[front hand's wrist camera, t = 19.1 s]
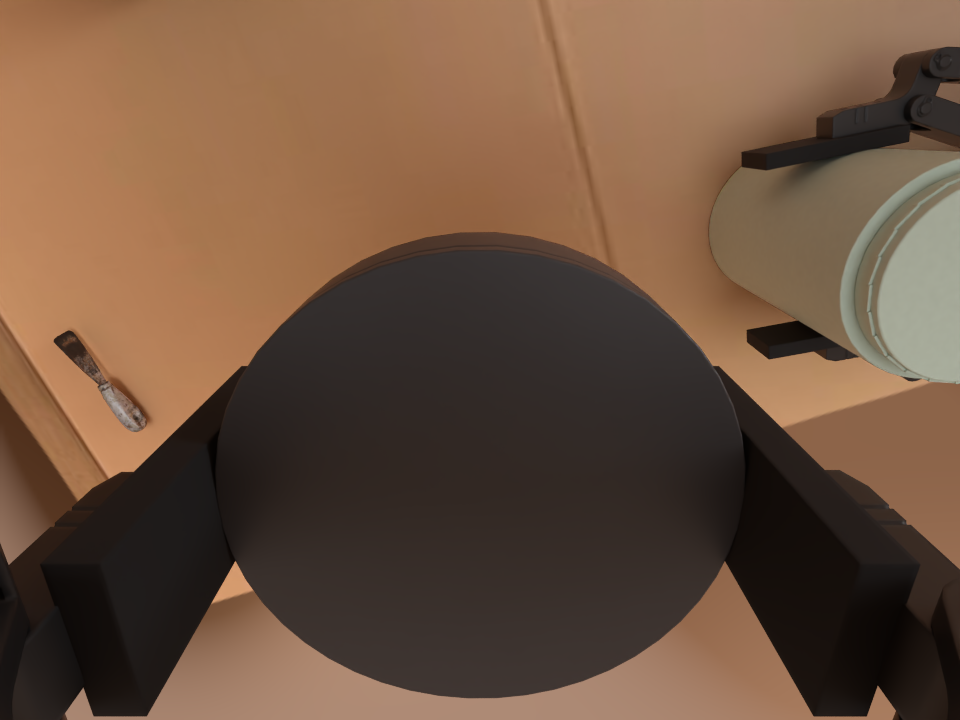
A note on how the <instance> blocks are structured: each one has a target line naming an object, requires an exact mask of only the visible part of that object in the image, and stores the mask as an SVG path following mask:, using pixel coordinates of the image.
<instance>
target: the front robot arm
mask: <svg viewBox="0 0 960 720" xmlns="http://www.w3.org/2000/svg"><path fill="white" fill-rule="evenodd" d="M247 367H248V366H241V367H240V368H239V369H238V370H237V371H236V372H235V373H234V374H233V375H232V376H231V377H230V378H229V379H228V380H227V381H226V382H225V383H224V384H223V385H222V386H221V387H220V388H219V389H218V390H217V391H216V392H215V393H214V394H213V395H212V396H211V397H210V398H209V399H208V400H207V401H206V402H205V403H204V404H203V405H202V406H201V407H200V408H199V409H198V410H196V411H195V412H194V413H193V414H192V415H191V416H190V417H189V418H188V419H187V420H186V421H185V422H184V423H183V424H182V425H181V426H180V427H179V428H178V429H177V430H176V431H175V432H174V433H173V434H172V435H171V436H170V437H169V438H168V439H167V440H166V441H165V442H164V443H163V444H162V445H161V446H160V447H159V448H158V449H157V450H156V451H155V452H154V453H153V454H152V455H151V456H150V457H149V458H148V459H147V460H146V461H145V462H143V463H142V464H141V465H140V466H139V467H138V468H137V469H136V470H135V471H134V472H121V473H119V474H117V475H115V476H113V477H112V478H110V479H108V480H106V481H105V482H103V483H101V484H99V485H97V486H96V487H94V488H92V489H91V490H90V491H89V492H88V493H87V494H86V495H85V496H84V497H83V498H81V499H80V500H79V501H78V502H77V503H76V504H75V505H74V506H73V507H72V511H67V512H66V513H65V514H64V515H63V516H62V517H61V518H60V519H59V520H57V521H56V522H55V526H54V527H50V528H49V529H48V530H47V531H46V532H44V533H43V534H42V535H41V536H40V537H39V538H38V539H37V540H36V541H35V542H34V543H32V544H31V545H30V546H29V547H28V548H27V549H26V550H25V551H24V552H23V553H22V554H20V555H19V556H18V557H17V558H16V559H15V560H14V561H13V562H12V563H11V564H10V565H8V563H7V560H6V557H5V555H4V552H3V549H2V547H1V544H0V720H67V718H66V715H65V712H66V711H67V709H68V708H69V707H70V705H71V704H72V702H73V701H74V700H75V698H76V697H77V695H78V694H79V693H80V691H81V690H82V688H83V687H84V690H85V693H86V696H87V699H88V702H89V704H90V707H91V710H92V713H93V715H94V716H147V715H148V713H149V711H150V710H151V708H152V706H153V704H154V703H155V701H156V699H157V697H158V696H159V694H160V692H161V690H162V689H163V687H164V685H165V683H166V682H167V680H168V678H169V676H170V674H171V673H172V671H173V669H174V668H175V666H176V664H177V662H178V661H179V659H180V657H181V655H182V653H183V652H184V650H185V648H186V647H187V645H188V643H189V641H190V639H191V638H192V636H193V634H194V633H195V631H196V629H197V627H198V626H199V624H200V622H201V620H202V618H203V617H204V615H205V613H206V611H207V610H208V608H209V606H210V604H211V603H212V601H213V599H214V597H215V596H216V594H217V592H218V590H219V589H220V587H221V585H222V583H223V582H224V580H225V578H226V576H227V575H228V573H229V571H230V569H231V568H232V566H233V564H234V562H235V561H236V560H235V559H234V557H233V555H232V552H231V550H230V547H229V544H228V542H227V539H226V536H225V534H224V531H223V527H222V522H221V517H220V512H219V507H218V502H217V497H216V483H215V462H216V452H217V442H218V437H219V433H220V429H221V425H222V422H223V418H224V414H225V410H226V408H227V405H228V403H229V401H230V399H231V396H232V394H233V392H234V390H235V388H236V385H237V383H238V381H239V379H240V377H241V376H242V374H243V373H244V371H245V370H246V368H247ZM713 367H714V369H715V370H716V372H717V373H718V375H719V376H720V378H721V380H722V383H723V385H724V387H725V389H726V391H727V393H728V395H729V397H730V399H731V401H732V404H733V406H734V410H735V413H736V416H737V420H738V423H739V427H740V430H741V434H742V440H743V448H744V456H745V464H746V470H745V494H744V499H743V505H742V510H741V515H740V520H739V525H738V529H737V532H736V535H735V538H734V540H733V543H732V546H731V549H730V552H729V554H728V556H727V557H726V559H725V562H726V564H727V565H728V567H729V569H730V570H731V572H732V574H733V576H734V577H735V579H736V581H737V583H738V585H739V586H740V588H741V590H742V592H743V593H744V595H745V597H746V599H747V600H748V602H749V604H750V606H751V607H752V609H753V611H754V613H755V614H756V616H757V618H758V620H759V621H760V623H761V625H762V627H763V628H764V630H765V632H766V634H767V635H768V637H769V639H770V641H771V642H772V644H773V646H774V648H775V649H776V651H777V653H778V655H779V656H780V658H781V660H782V662H783V663H784V665H785V667H786V669H787V670H788V672H789V674H790V676H791V677H792V679H793V681H794V683H795V684H796V686H797V688H798V690H799V691H800V693H801V695H802V697H803V698H804V700H805V702H806V704H807V705H808V707H809V709H810V711H811V712H812V714H813V716H867V714H868V711H869V709H870V706H871V703H872V700H873V697H874V694H875V692H876V689H877V686H879V687H880V689H881V690H882V692H883V693H884V694H885V696H886V697H887V699H888V700H889V701H890V703H891V704H892V706H893V707H894V708H895V710H896V712H895V715H894V718H893V720H960V569H959V568H957V567H956V566H955V565H954V564H953V563H952V562H951V561H950V560H949V559H948V558H947V557H945V556H944V555H943V554H942V553H941V552H940V551H939V550H938V549H937V548H936V547H934V546H933V545H932V544H931V543H930V542H929V541H928V540H927V539H926V538H925V537H923V536H922V535H921V534H920V533H919V532H918V531H917V530H916V529H915V528H914V527H913V526H911V525H907V524H906V520H905V519H904V518H903V517H902V516H900V515H899V514H898V513H897V512H896V511H895V510H894V509H890V508H889V505H888V504H887V503H886V502H885V501H884V500H883V499H882V498H881V497H879V495H877V494H876V493H875V492H874V491H873V490H872V489H871V488H870V487H869V486H867V485H865V484H863V483H862V482H860V481H858V480H856V479H854V478H853V477H851V476H849V475H847V474H845V473H844V472H842V471H840V470H824V469H823V468H822V467H821V466H820V465H819V464H818V463H817V462H816V461H815V460H814V459H813V458H812V457H811V456H810V455H809V454H808V453H807V452H806V451H805V450H804V449H803V448H802V447H801V446H800V445H799V444H798V443H796V441H794V440H793V439H792V438H791V437H790V436H789V435H788V434H787V433H786V432H785V431H784V430H783V429H782V428H781V427H780V426H779V425H778V424H777V423H776V422H775V421H774V420H773V419H772V418H771V417H770V416H769V415H768V414H767V413H766V412H765V411H764V410H763V409H762V408H761V407H760V406H759V405H758V404H757V403H756V402H755V401H754V400H753V399H752V398H751V397H750V396H749V395H748V394H747V393H746V392H745V391H744V390H743V389H741V388H740V387H739V386H738V385H737V384H736V383H735V382H734V381H733V380H732V379H731V378H730V377H729V376H728V375H727V374H726V373H725V372H724V371H723V370H722V369H721V368H720V367H719V366H713Z"/></svg>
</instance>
